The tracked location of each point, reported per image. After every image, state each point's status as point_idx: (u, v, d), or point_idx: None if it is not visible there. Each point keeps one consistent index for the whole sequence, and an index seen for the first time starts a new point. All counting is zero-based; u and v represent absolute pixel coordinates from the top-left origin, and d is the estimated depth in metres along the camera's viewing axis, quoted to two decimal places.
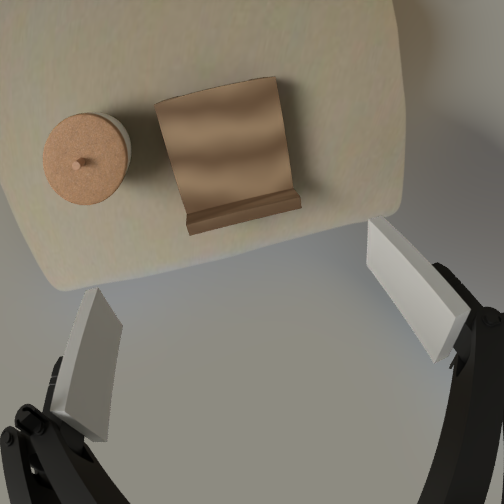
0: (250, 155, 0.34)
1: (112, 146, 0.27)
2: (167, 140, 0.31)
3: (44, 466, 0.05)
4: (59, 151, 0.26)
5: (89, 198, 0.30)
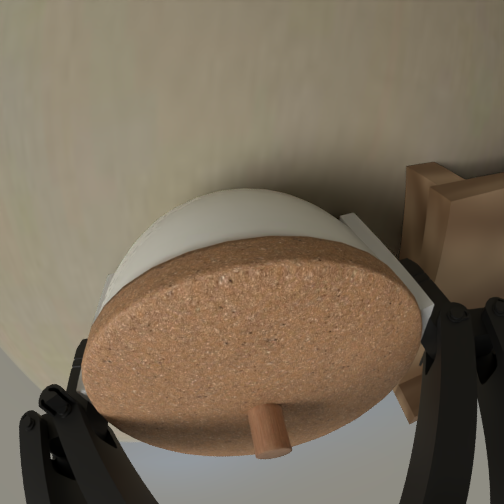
0: None
1: (392, 364, 0.08)
2: (439, 285, 0.12)
3: (65, 449, 0.06)
4: (169, 392, 0.07)
5: None
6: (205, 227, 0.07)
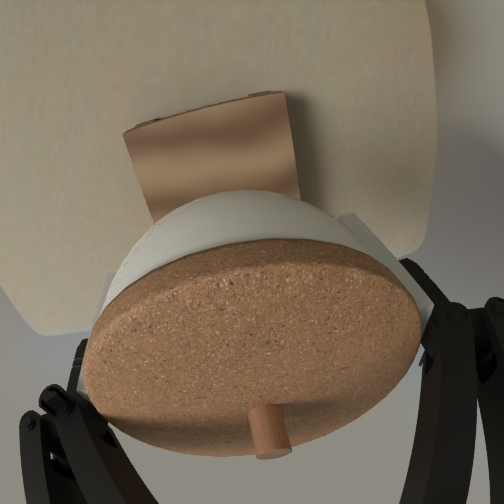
0: None
1: (391, 365, 0.08)
2: (142, 180, 0.24)
3: (65, 449, 0.06)
4: (169, 393, 0.07)
5: None
6: (206, 229, 0.07)
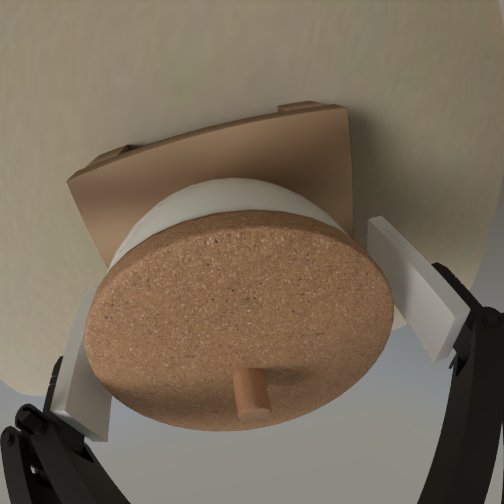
0: None
1: (366, 337, 0.09)
2: (107, 255, 0.15)
3: (44, 467, 0.05)
4: (161, 351, 0.08)
5: (248, 425, 0.12)
6: (198, 204, 0.08)
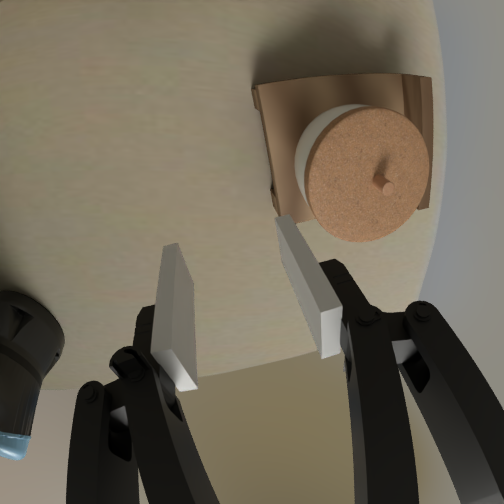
0: None
1: (372, 125, 0.17)
2: None
3: (128, 416, 0.07)
4: (352, 212, 0.21)
5: (421, 182, 0.20)
6: (301, 183, 0.21)
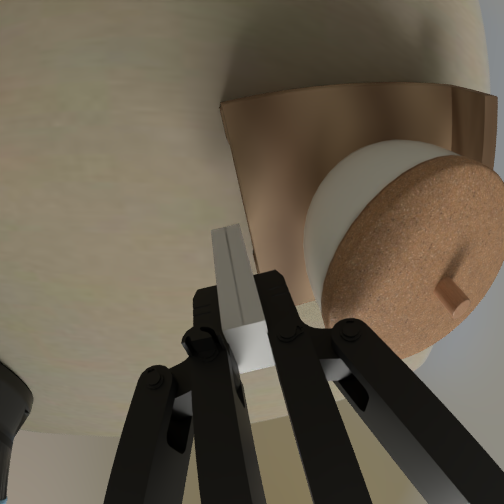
0: None
1: (456, 199, 0.08)
2: None
3: (192, 397, 0.08)
4: (395, 334, 0.12)
5: (495, 271, 0.11)
6: (315, 291, 0.12)
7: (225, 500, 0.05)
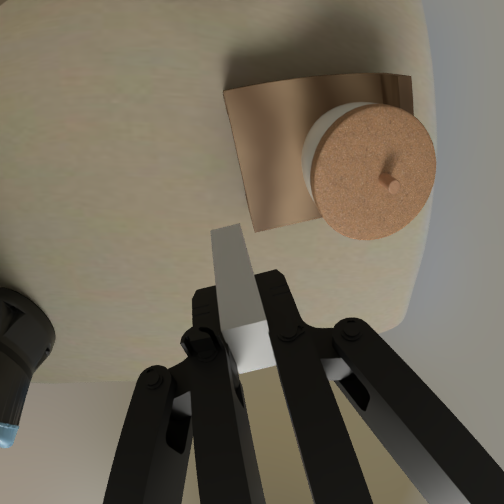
0: None
1: (377, 123, 0.17)
2: (299, 219, 0.29)
3: (191, 397, 0.08)
4: (359, 210, 0.20)
5: (428, 179, 0.20)
6: (308, 183, 0.21)
7: (224, 500, 0.05)
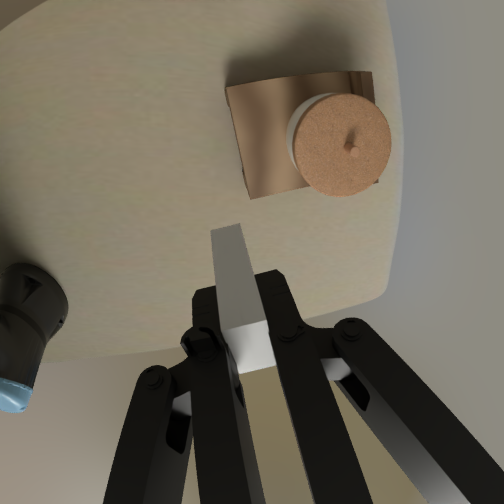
0: None
1: (340, 106, 0.24)
2: (286, 188, 0.36)
3: (191, 397, 0.08)
4: (330, 172, 0.27)
5: (385, 148, 0.27)
6: (291, 153, 0.28)
7: (224, 500, 0.05)
